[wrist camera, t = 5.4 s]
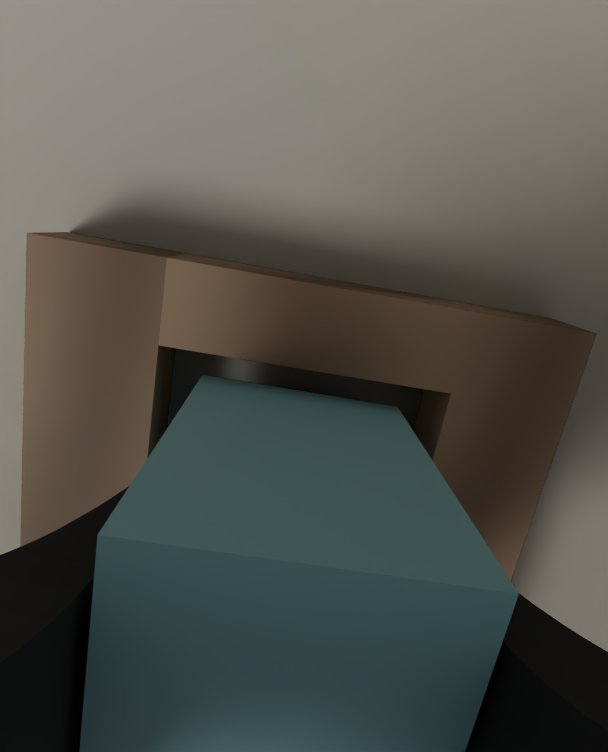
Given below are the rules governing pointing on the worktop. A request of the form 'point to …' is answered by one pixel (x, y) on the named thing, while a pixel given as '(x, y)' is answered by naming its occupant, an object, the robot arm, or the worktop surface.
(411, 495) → the teal block
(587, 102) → the worktop surface
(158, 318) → the walnut frame
